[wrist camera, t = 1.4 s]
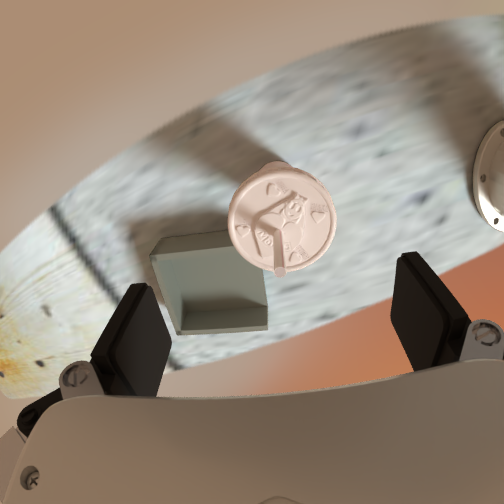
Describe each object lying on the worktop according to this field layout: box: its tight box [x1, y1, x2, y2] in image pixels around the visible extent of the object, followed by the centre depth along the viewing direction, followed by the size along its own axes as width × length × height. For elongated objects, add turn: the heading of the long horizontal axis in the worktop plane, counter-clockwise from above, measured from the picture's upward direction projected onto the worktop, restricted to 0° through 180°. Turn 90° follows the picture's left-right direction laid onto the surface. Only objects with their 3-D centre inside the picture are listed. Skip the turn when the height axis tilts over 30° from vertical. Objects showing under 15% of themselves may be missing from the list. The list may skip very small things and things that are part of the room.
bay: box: [149, 230, 268, 335], centre depth 29 cm, size 9×9×4 cm
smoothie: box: [228, 161, 337, 278], centre depth 20 cm, size 6×6×14 cm
